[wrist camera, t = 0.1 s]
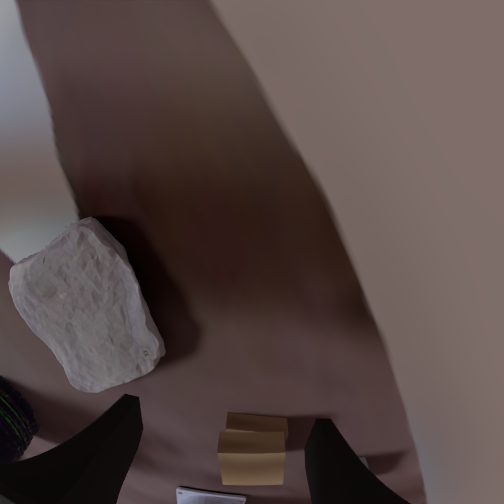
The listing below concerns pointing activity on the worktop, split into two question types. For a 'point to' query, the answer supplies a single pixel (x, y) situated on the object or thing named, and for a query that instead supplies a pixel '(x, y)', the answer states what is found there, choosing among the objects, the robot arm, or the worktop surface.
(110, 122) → the worktop surface
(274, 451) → the tower top slab
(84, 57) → the worktop surface
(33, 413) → the storage jar
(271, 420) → the tower bottom slab
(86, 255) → the stone block
